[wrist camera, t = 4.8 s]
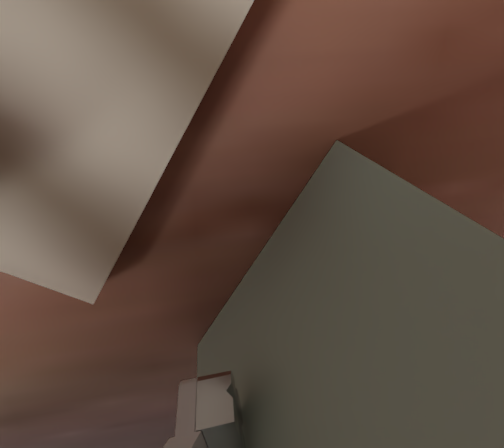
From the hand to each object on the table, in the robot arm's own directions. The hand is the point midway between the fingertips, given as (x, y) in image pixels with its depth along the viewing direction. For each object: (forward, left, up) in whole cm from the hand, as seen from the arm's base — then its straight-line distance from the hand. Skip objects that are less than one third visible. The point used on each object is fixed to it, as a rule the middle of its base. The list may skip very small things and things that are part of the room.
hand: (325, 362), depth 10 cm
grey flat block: (0, 0, -5) cm, 5 cm away
